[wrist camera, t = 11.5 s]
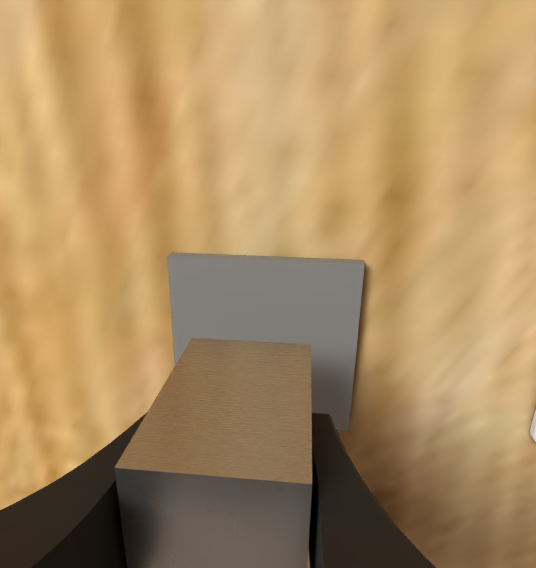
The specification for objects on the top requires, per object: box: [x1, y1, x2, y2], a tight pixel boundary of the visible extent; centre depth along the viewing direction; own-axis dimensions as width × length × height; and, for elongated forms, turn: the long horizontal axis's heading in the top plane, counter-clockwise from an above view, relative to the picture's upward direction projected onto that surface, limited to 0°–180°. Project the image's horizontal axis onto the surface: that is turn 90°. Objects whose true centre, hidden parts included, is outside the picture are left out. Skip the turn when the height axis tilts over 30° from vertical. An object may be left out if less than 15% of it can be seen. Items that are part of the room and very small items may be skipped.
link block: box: [114, 338, 312, 568], centre depth 12 cm, size 4×4×6 cm
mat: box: [167, 253, 365, 431], centre depth 19 cm, size 8×8×1 cm
